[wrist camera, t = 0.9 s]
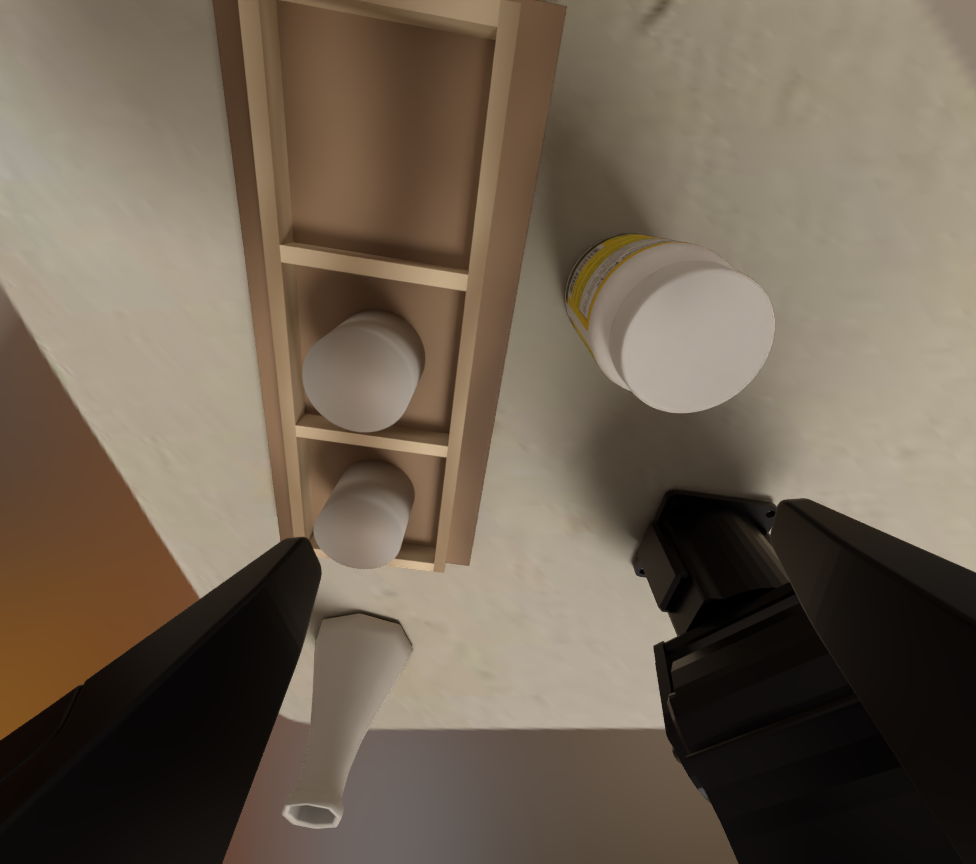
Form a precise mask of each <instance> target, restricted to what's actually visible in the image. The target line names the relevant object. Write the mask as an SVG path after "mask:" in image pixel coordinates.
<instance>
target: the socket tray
mask: <svg viewBox="0 0 976 864" xmlns="http://www.w3.org/2000/svg"><path fill="white" fill-rule="evenodd" d="M213 7H214V14H215V22H216V30H217V38H218V46H219V54H220V62H221V70H222V78H223V86H224V94H225V102H226V110H227V118H228V126H229V134H230V142H231V150H232V158H233V166H234V174H235V182H236V190H237V198H238V206H239V214H240V222H241V230H242V238H243V246H244V254H245V262H246V270H247V278H248V286H249V294H250V302H251V310H252V318H253V326H254V334H255V342H256V350H257V358H258V366H259V374H260V382H261V390H262V398H263V406H264V414H265V422H266V430H267V438H268V446H269V453H270V461H271V469H272V477H273V485H274V493H275V501H276V509H277V517H278V525H279V533H280V541H282V540H284V539H286V538H291V537H307V538H308V539H309V540H310V542H311V544H312V546H313V549H314V551H315V553H316V556H317V557H321V558H329V559H332V560H334V561H336V562H338V563H340V564H342V565H345V566H348V567H352V568H357V569H373V568H378V567H381V566H384V565H386V566H394V567H402V568H410V569H418V570H426V571H434V572H442V573H444V569H445V563H450V564H458V565H466V566H469V564H470V558H471V552H472V547H473V541H474V535H475V529H476V524H477V518H478V512H479V506H480V501H481V495H482V489H483V484H484V478H485V472H486V466H487V461H488V455H489V449H490V443H491V438H492V432H493V426H494V421H495V415H496V409H497V403H498V398H499V392H500V386H501V380H502V375H503V369H504V363H505V357H506V352H507V346H508V340H509V335H510V329H511V323H512V317H513V312H514V306H515V300H516V294H517V289H518V283H519V277H520V272H521V266H522V260H523V254H524V249H525V243H526V237H527V231H528V226H529V220H530V214H531V209H532V203H533V197H534V191H535V186H536V180H537V174H538V168H539V163H540V157H541V151H542V146H543V140H544V134H545V128H546V123H547V117H548V111H549V105H550V100H551V94H552V88H553V83H554V77H555V71H556V65H557V60H558V54H559V48H560V42H561V37H562V31H563V25H564V20H565V14H566V8H567V6H563V5H558V4H552V3H547V2H542V1H537V0H213Z"/></svg>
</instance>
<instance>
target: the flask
mask: <svg viewBox="0 0 976 864" xmlns="http://www.w3.org/2000/svg"><path fill="white" fill-rule="evenodd" d="M412 651H413V648H412V646H411V644H410V642H409V640H408V639H407V637H406V635H405V633H404V631H403V630H402V628H401V626H400V624H396V623H393V622H389V621H385V620H382V619H378V618H375V617H371V616H367V615H364V614H360V613H359V614H353V615H347V616H341V617H335V618H329V619H323V620H322V623H321V626H320V629H319V632H318V635H317V639H316V642H315V652H314V677H313V697H312V711H311V725H310V736H309V740H308V745H307V750H306V755H305V760H304V765H303V769H302V772H301V775H300V778H299V781H298V784H297V787H296V789H295V791H294V792H291V793H290V794H289V796H288V798H287V800H286V802H285V805H284V808H283V811H282V815H283V816H284V817H285V818H286V819H287V820H289V821H290V822H291V823H292V824H294V825H299V826H304V827H309V828H315V829H318V828H330V827H337V825H338V823H339V822H340V819H341V818H342V815H343V808H344V807H343V804H342V803H341V799H342V794H343V790H344V786H345V783H346V779H347V776H348V773H349V770H350V768H351V765H352V763H353V760H354V758H355V756H356V753H357V751H358V748H359V746H360V743H361V741H362V739H363V738H364V736H365V734H366V732H367V731H368V729H369V727H370V725H371V724H372V722H373V720H374V718H375V716H376V715H377V713H378V711H379V709H380V708H381V706H382V704H383V703H384V701H385V700H386V698H387V696H388V695H389V693H390V691H391V690H392V688H393V686H394V685H395V683H396V681H397V680H398V678H399V676H400V674H401V673H402V671H403V669H404V667H405V665H406V663H407V661H408V659H409V657H410V655H411V653H412Z"/></svg>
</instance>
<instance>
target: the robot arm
mask: <svg viewBox="0 0 976 864" xmlns="http://www.w3.org/2000/svg"><path fill="white" fill-rule="evenodd" d="M677 497H678V498H677ZM673 498H677V499H675V500H672V499H673ZM769 511H770V512H769ZM767 512H768V513H767ZM771 528H772V529H771ZM770 529H771V534H769V533H768V532H769V531H770ZM637 554H638V557H637V559H636V562H635V564H634V567H633V568H634V570H635V573H636V575H637V576H640V577H646V578H647V580H648V582H649V585H650V587H651V590H652V592H653V595H654V598H655V600H656V603H657V605H658V607H659V609H660V610H661V611H662V612H668V615H669V617H670V619H671V622H672V624H673V627H674V629H675V632H676V634H677V637H675V638H673V639H671V640H669V641H667V642H664V641H662V642H660V643H658V644H656V645H654V646H653V647H654V654H655V661H656V662H655V665H656V671H657V677H658V684H659V690H660V697H661V703H662V710H663V716H664V723H665V729H666V734H667V737H668V739H669V741H670V743H671V744H672V751H673V754H674V756H675V758H676V759H677V761H678V762H679V763H681V764H682V765H683V767H684V769H685V770H686V772H687V774H688V776H689V777H690V779H691V780H692V782H693V783H694V785H695V786H696V788H697V789H698V790H699V792H700V793H701V794H702V795H703V796H704V798H705V799H707V800H708V801H709V802H710V803H711V804H712V806H713V808H714V810H715V812H716V814H717V816H718V818H719V820H720V822H721V824H722V826H723V829H724V831H725V833H726V835H727V838H728V840H729V842H730V845H731V847H732V849H733V852H734V854H735V856H736V859H737V861H738V863H739V864H976V572H973V571H971V570H969V569H966V568H964V567H962V566H960V565H957V564H955V563H953V562H951V561H948V560H946V559H944V558H941V557H939V556H937V555H935V554H932V553H930V552H928V551H926V550H923V549H921V548H919V547H916V546H914V545H912V544H910V543H907V542H905V541H903V540H900V539H898V538H896V537H894V536H891V535H889V534H887V533H885V532H882V531H880V530H878V529H875V528H873V527H871V526H869V525H866V524H864V523H862V522H860V521H857V520H855V519H853V518H850V517H848V516H846V515H844V514H841V513H839V512H837V511H835V510H832V509H830V508H828V507H825V506H823V505H821V504H819V503H816V502H814V501H812V500H809V499H805V498H800V499H787V500H783V501H781V502H780V503H779V504H778V506H777V507H776V505H775V504H773V503H770V502H762V501H755V500H748V499H741V498H733V497H726V496H719V495H712V494H704V493H697V492H690V491H683V490H670V491H668V492H667V493H666V494H665V496H664V498H663V500H662V502H661V505H660V507H659V509H658V512H657V514H656V516H655V518H654V521H652V522H651V523H650V525H649V527H648V530H647V532H646V534H645V537H644V539H643V541H642V543H641V546H640V548H639V550H638V553H637ZM642 568H643V569H642ZM321 574H322V572H321V565H320V563H319V560H318V558H317V556H316V553H315V551H314V549H313V546H312V544H311V542H310V540H309V539H308V538H307V537H291V538H286V539H284V540H282V541H281V542H279V543H278V544H277V545H275V546H274V547H272V548H271V549H270V550H268V551H267V552H265V553H264V554H263V555H261V556H260V557H258V558H257V559H256V560H254V561H253V562H251V563H250V564H249V565H247V566H246V567H244V568H243V569H242V570H240V571H239V572H237V573H236V574H234V575H233V576H232V577H230V578H229V579H227V580H226V581H225V582H223V583H222V584H220V585H219V586H218V587H216V588H215V589H213V590H212V591H211V592H209V593H208V594H206V595H205V596H204V597H202V598H201V599H199V600H198V601H197V602H195V603H194V604H193V605H191V606H190V607H188V608H187V609H185V610H184V611H183V612H181V613H180V614H178V615H177V616H176V617H174V618H173V619H171V620H170V621H169V622H167V623H166V624H164V625H163V626H162V627H160V628H159V629H157V630H156V631H155V632H153V633H152V634H151V635H149V636H147V637H146V638H145V639H143V640H142V641H140V642H139V643H138V644H136V645H135V646H133V647H132V648H131V649H129V650H128V651H126V652H125V653H124V654H122V655H121V656H120V657H118V658H117V659H115V660H114V661H112V662H111V663H110V664H108V665H107V666H105V667H104V668H103V669H101V670H100V671H99V672H97V673H96V674H94V675H93V676H91V677H90V678H89V679H87V680H86V681H85V683H84V685H79V686H77V687H76V688H74V689H73V690H72V691H70V692H69V693H67V694H66V695H65V696H63V697H62V698H60V699H59V700H58V701H56V702H55V703H53V704H52V705H51V706H49V707H48V708H46V709H45V710H43V711H42V712H41V713H39V714H38V715H36V716H35V717H33V718H32V719H31V720H29V721H28V722H26V723H25V724H23V725H22V726H21V727H19V728H18V729H16V730H15V731H13V732H12V733H10V734H9V735H8V736H6V737H5V738H3V739H2V740H0V864H222V863H223V860H224V857H225V855H226V852H227V849H228V847H229V844H230V841H231V839H232V836H233V833H234V831H235V828H236V825H237V823H238V820H239V817H240V815H241V812H242V809H243V807H244V804H245V801H246V799H247V796H248V793H249V791H250V788H251V785H252V782H253V780H254V777H255V774H256V772H257V769H258V767H259V764H260V761H261V759H262V756H263V753H264V751H265V748H266V745H267V742H268V740H269V737H270V734H271V732H272V729H273V726H274V724H275V721H276V718H277V716H278V713H279V710H280V708H281V705H282V702H283V700H284V697H285V694H286V692H287V689H288V686H289V684H290V681H291V678H292V676H293V673H294V670H295V668H296V665H297V662H298V659H299V656H300V653H301V650H302V647H303V644H304V640H305V637H306V633H307V629H308V625H309V622H310V618H311V614H312V610H313V606H314V603H315V599H316V595H317V591H318V588H319V584H320V580H321Z"/></svg>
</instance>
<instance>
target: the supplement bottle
mask: <svg viewBox="0 0 976 864" xmlns="http://www.w3.org/2000/svg"><path fill="white" fill-rule="evenodd" d="M565 303H566V309H567V313H568V316H569V318H570V321H571V323H572V325H573V327H574V328H575V330H576V331H577V333H578V334H579V336H580V337H581V339H582V340H583V342H584V343H585V345H586V346H587V348H588V350H589V351H590V353H591V354H592V356H593V358H594V359H595V361H596V363H597V364H598V366H599V367H600V369H601V370H602V372H603V373H604V374H605V375H606V376H607V377H608V378H609V379H610V380H611V381H613V382H614V383H616V384H617V385H619V386H621V387H622V388H624V389H627V390H629V391H632V392H633V394H634V395H635V396H636V397H637V398H639V399H640V400H641V401H642V402H644V403H645V404H647V405H649V406H651V407H653V408H655V409H658V410H661V411H665V412H670V413H692V412H698V411H703V410H706V409H709V408H712V407H715V406H717V405H719V404H721V403H723V402H725V401H727V400H729V399H731V398H732V397H733V396H735V395H736V394H738V393H739V392H740V391H741V390H743V389H744V388H745V387H746V386H747V385H748V384H749V383H750V382H751V381H752V380H753V378H754V377H755V376H756V375H757V374H758V372H759V371H760V369H761V368H762V366H763V365H764V363H765V361H766V359H767V357H768V355H769V352H770V350H771V346H772V343H773V339H774V332H775V318H774V312H773V308H772V305H771V302H770V300H769V298H768V296H767V294H766V293H765V291H764V290H763V289H762V288H761V286H760V285H759V284H758V283H757V282H755V281H754V280H753V279H751V278H750V277H748V276H747V275H745V274H743V273H741V272H738V271H735V270H733V269H732V268H731V266H730V265H729V264H728V263H727V262H726V261H725V260H724V259H723V258H721V257H720V256H719V255H718V254H716V253H714V252H712V251H711V250H708V249H706V248H704V247H701V246H698V245H695V244H690V243H685V242H679V241H674V240H668V239H663V238H658V237H651V236H646V235H639V234H618V235H614V236H610V237H607V238H605V239H603V240H601V241H599V242H597V243H596V244H594V245H593V246H592V247H590V248H589V249H588V250H587V251H586V252H585V253H584V254H583V255H582V256H581V257H580V258H579V259H578V261H577V262H576V264H575V265H574V267H573V269H572V271H571V273H570V276H569V278H568V282H567V286H566V292H565Z"/></svg>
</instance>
